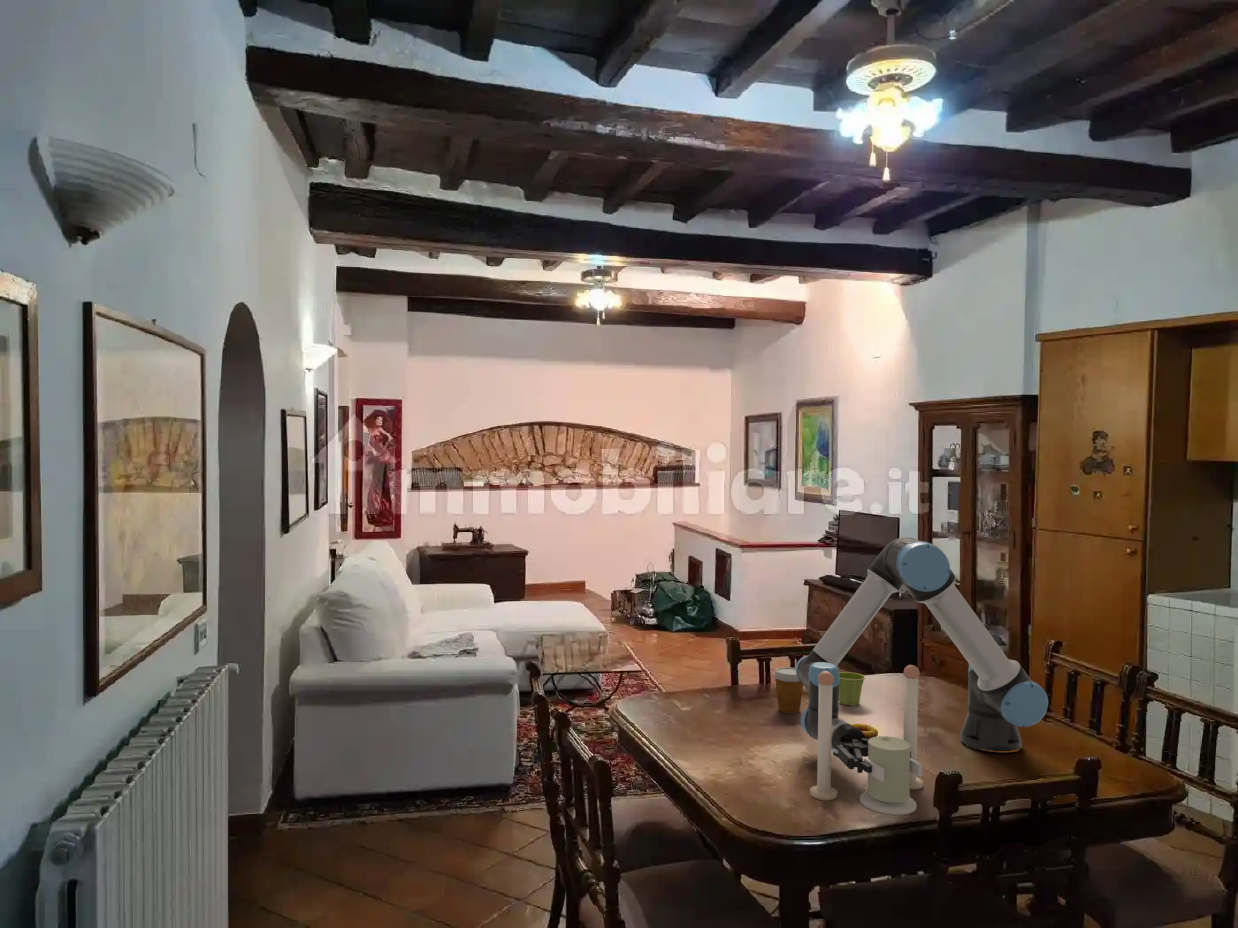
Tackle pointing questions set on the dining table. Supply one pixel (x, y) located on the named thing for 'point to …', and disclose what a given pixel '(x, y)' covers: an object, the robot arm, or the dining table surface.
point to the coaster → (888, 805)
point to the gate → (825, 730)
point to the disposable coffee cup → (788, 690)
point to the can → (890, 769)
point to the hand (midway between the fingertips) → (901, 772)
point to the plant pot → (850, 688)
